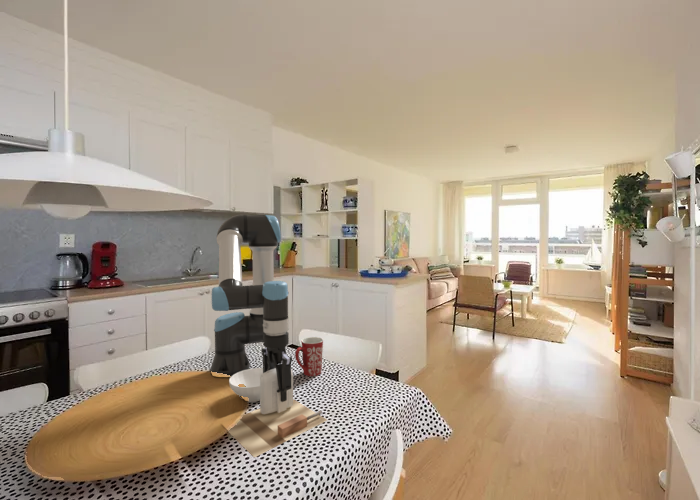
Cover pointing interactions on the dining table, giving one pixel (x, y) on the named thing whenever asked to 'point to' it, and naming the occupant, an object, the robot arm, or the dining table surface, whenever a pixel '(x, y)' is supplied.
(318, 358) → the mug
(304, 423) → the awl
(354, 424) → the dining table surface
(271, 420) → the light wooden cutting board
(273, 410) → the photo printer
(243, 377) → the bowl
